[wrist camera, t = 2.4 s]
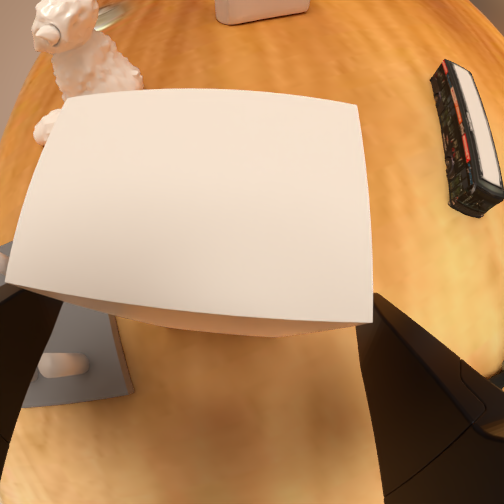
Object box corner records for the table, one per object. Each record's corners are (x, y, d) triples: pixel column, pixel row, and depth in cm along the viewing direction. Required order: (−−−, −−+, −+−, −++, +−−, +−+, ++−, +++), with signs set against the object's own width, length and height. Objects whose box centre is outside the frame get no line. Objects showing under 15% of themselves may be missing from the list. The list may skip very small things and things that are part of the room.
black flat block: (394, 230, 19) (425, 204, 15) (383, 33, 26) (394, 6, 22) (524, 271, 19) (557, 258, 15) (482, 80, 26) (498, 59, 22)
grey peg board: (134, 392, 15) (102, 405, 11) (22, 406, 14) (-20, 414, 10) (99, 215, 18) (67, 183, 14) (0, 253, 17) (-38, 233, 13)
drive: (274, 337, 17) (372, 322, 4) (165, 327, 17) (4, 282, 4) (279, 266, 18) (356, 105, 5) (174, 257, 18) (67, 98, 5)
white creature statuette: (92, 68, 22) (53, -31, 11) (172, 72, 22) (150, -53, 11) (38, 148, 20) (-39, 50, 8) (119, 162, 19) (46, 24, 8)
